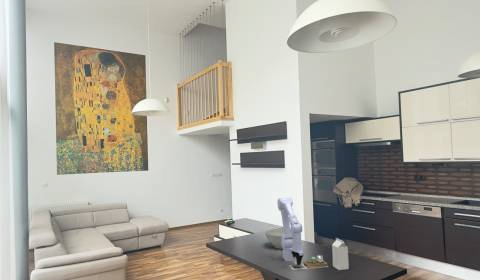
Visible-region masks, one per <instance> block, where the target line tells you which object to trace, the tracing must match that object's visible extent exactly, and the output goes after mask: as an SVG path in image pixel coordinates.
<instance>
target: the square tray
mask: <svg viewBox="0 0 480 280" xmlns="http://www.w3.org/2000/svg"><path fill="white" fill-rule="evenodd" d="M294 266H295V264H293V263H292V264H288V267H289V268H290V269H291V270H292V271H295V270H296V271H297V270H305V269H306V270H308V269H307V268H306V267H305V266H304V263H301V266H302V267H299V268H294Z"/></svg>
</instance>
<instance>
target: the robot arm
mask: <svg viewBox="0 0 480 280" xmlns="http://www.w3.org/2000/svg"><path fill="white" fill-rule="evenodd" d="M293 202H294V201H293V199H292V197H281V198H280V197H279V198H278V199H277V208H278V211H279V212H280V215H281V219H282V220H281V221H282V228H284V235H283V236H282V237H281V245H282V248H283V249H282V259H284V261H285V262H294V257H296V261H297V265H301V264H302V259H303V257H304V252H303V249H302V232H303V225H302V224H301V223H300V222H299V220H298V217H297V215H296V214H295V213H294V209H293ZM290 229H291V230H290ZM287 238H291V239H287ZM301 266H302V265H301Z"/></svg>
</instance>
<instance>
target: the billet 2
mask: <svg viewBox="0 0 480 280" xmlns="http://www.w3.org/2000/svg"><path fill="white" fill-rule="evenodd" d="M323 256H324V255H323V254H322V255H321V254H318V255H316V258H317V264H322V263H323V261H324V257H323Z"/></svg>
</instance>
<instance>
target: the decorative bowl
mask: <svg viewBox="0 0 480 280" xmlns="http://www.w3.org/2000/svg"><path fill="white" fill-rule="evenodd" d="M290 230H291V228H290ZM264 234H265V237H266V239H267V240H268V242H269V243H270V244H271V245H273V247H274V248H276V249H279V250H280V249H281V250H283V248H282V245H281V237H282V236H283V235H284V228H283V227H281V228H279V227H278V228H271V229H266V230H265V231H264ZM287 239H291V238H287Z"/></svg>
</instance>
